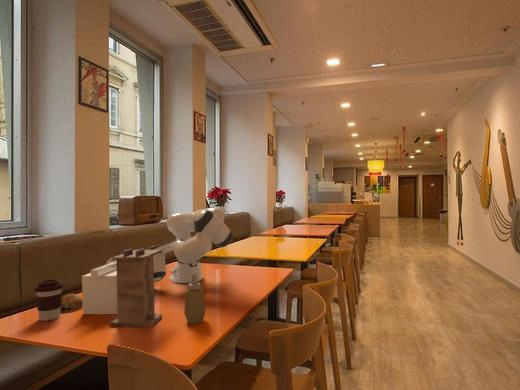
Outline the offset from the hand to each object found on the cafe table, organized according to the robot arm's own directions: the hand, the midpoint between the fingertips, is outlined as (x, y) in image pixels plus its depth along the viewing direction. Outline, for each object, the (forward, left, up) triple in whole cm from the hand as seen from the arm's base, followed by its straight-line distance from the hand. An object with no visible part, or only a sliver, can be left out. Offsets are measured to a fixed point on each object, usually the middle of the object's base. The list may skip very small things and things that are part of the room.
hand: (121, 259), depth 162 cm
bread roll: (-5, -21, -20) cm, 29 cm away
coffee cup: (+4, -30, -20) cm, 36 cm away
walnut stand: (+31, -3, -19) cm, 37 cm away
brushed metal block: (+6, -6, -3) cm, 9 cm away
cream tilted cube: (+7, -7, -19) cm, 22 cm away
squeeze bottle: (+48, +12, -20) cm, 53 cm away
